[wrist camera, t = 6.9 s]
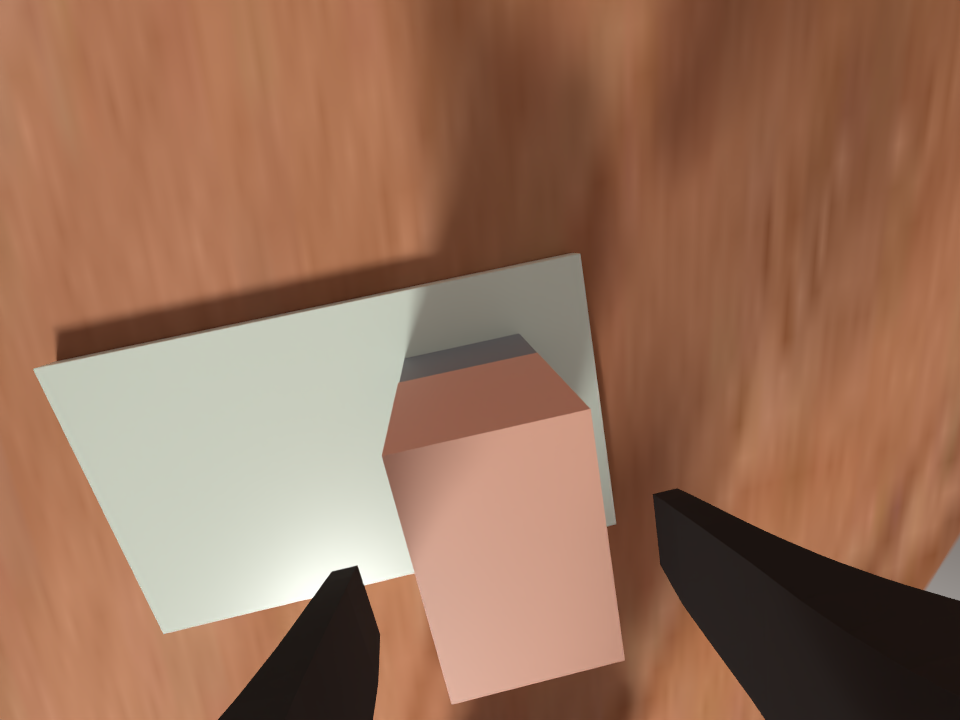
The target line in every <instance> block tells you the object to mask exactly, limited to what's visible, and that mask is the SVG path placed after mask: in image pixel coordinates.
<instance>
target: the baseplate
mask: <svg viewBox="0 0 960 720" xmlns="http://www.w3.org/2000/svg"><path fill="white" fill-rule="evenodd" d="M514 334H520V335H521V336H522V337H523V338H524V339H525V340H526V341H527V342H528V343H529V345H530V346H531V347H532V348H533V349H534V350H535V351H536V352H537V353H538V354H539V355H540V356H541V357H542V358H543V359H544V360H545V361H546V362H547V363H548V364H549V365H550V366H551V367H552V369H553V370H554V371H555V372H556V373H557V374H558V375H559V376H560V377H561V378H562V379H563V380H564V381H565V382H566V383H567V384H568V385H569V387H570V388H571V389H572V390H573V391H574V392H575V393H576V394H577V395H578V396H579V397H580V398H581V399H582V400H583V401H584V402H585V403H586V405H587V406H588V407H589V408H590V409H591V415H592V422H593V430H594V437H595V444H596V452H597V459H598V467H599V474H600V481H601V489H602V496H603V503H604V511H605V518H606V525H607V526H611V525H615V524H616V518H615V511H614V503H613V496H612V488H611V481H610V473H609V465H608V458H607V450H606V443H605V435H604V428H603V420H602V413H601V405H600V398H599V390H598V383H597V375H596V368H595V360H594V353H593V345H592V337H591V330H590V322H589V315H588V307H587V300H586V292H585V285H584V277H583V270H582V262H581V255H580V253H569V254H564V255H559V256H555V257H550V258H545V259H540V260H536V261H531V262H526V263H521V264H517V265H512V266H507V267H502V268H498V269H493V270H488V271H483V272H479V273H474V274H469V275H464V276H460V277H455V278H450V279H445V280H441V281H436V282H431V283H426V284H422V285H417V286H412V287H407V288H403V289H398V290H393V291H388V292H384V293H379V294H374V295H369V296H365V297H360V298H355V299H350V300H346V301H341V302H336V303H331V304H327V305H322V306H317V307H312V308H308V309H303V310H298V311H293V312H289V313H284V314H279V315H274V316H270V317H265V318H260V319H255V320H251V321H246V322H241V323H236V324H232V325H227V326H222V327H217V328H213V329H208V330H203V331H198V332H194V333H189V334H184V335H179V336H175V337H170V338H165V339H160V340H156V341H151V342H146V343H141V344H137V345H132V346H127V347H122V348H118V349H113V350H108V351H103V352H99V353H94V354H89V355H84V356H80V357H75V358H70V359H65V360H61V361H56V362H53V363H50V364H46V365H43V366H40V367H37V368H34V369H33V370H34V372H35V374H36V376H37V378H38V380H39V382H40V384H41V386H42V388H43V390H44V392H45V394H46V396H47V398H48V400H49V402H50V405H51V407H52V409H53V411H54V413H55V415H56V417H57V419H58V421H59V423H60V425H61V427H62V429H63V431H64V433H65V435H66V437H67V439H68V441H69V443H70V445H71V447H72V449H73V451H74V453H75V455H76V457H77V459H78V461H79V463H80V465H81V467H82V469H83V472H84V474H85V476H86V478H87V480H88V482H89V484H90V486H91V488H92V490H93V492H94V494H95V496H96V498H97V500H98V502H99V504H100V506H101V508H102V510H103V512H104V514H105V516H106V518H107V520H108V522H109V524H110V526H111V528H112V530H113V532H114V534H115V536H116V538H117V541H118V543H119V545H120V547H121V549H122V551H123V553H124V555H125V557H126V559H127V561H128V563H129V565H130V567H131V569H132V571H133V573H134V575H135V577H136V579H137V581H138V583H139V585H140V587H141V589H142V591H143V593H144V595H145V597H146V599H147V601H148V603H149V605H150V607H151V610H152V612H153V614H154V616H155V618H156V620H157V622H158V624H159V626H160V628H161V630H162V632H163V634H165V633H170V632H174V631H178V630H182V629H186V628H190V627H194V626H198V625H203V624H207V623H211V622H215V621H219V620H223V619H227V618H232V617H236V616H240V615H244V614H248V613H252V612H256V611H260V610H265V609H269V608H273V607H277V606H281V605H285V604H289V603H293V602H298V601H302V600H306V599H310V598H313V597H314V595H315V594H316V593H317V591H318V590H319V588H320V587H321V585H322V584H323V583H324V581H325V580H326V579H327V577H328V576H329V575H330V573H331V572H332V571H336V570H340V569H344V568H348V567H352V566H357V565H358V568H359V571H360V574H361V577H362V580H363V584H364V585H368V584H372V583H376V582H380V581H384V580H388V579H392V578H397V577H401V576H405V575H409V574H413V573H414V569H413V566H412V562H411V558H410V555H409V551H408V548H407V544H406V541H405V537H404V534H403V530H402V527H401V523H400V519H399V516H398V512H397V509H396V505H395V502H394V498H393V495H392V491H391V487H390V484H389V480H388V477H387V473H386V470H385V466H384V463H383V459H382V452H383V448H384V443H385V439H386V434H387V430H388V425H389V421H390V417H391V412H392V408H393V403H394V399H395V394H396V390H397V385H398V383H399V381H400V377H401V372H402V367H403V363H404V358H409V357H413V356H418V355H423V354H427V353H432V352H436V351H441V350H446V349H450V348H455V347H459V346H464V345H468V344H473V343H478V342H482V341H487V340H491V339H496V338H500V337H505V336H510V335H514Z"/></svg>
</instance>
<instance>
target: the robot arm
mask: <svg viewBox="0 0 960 720" xmlns="http://www.w3.org/2000/svg"><path fill="white" fill-rule="evenodd" d="M653 499H654V509H655V518H656V528H657V537H658V547H659V556H660V565H661V566H662V568H663V570H664V572H665V574H666V576H667V577H668V579H669V581H670V583H671V585H672V587H673V588H674V590H675V592H676V593H677V595H678V597H679V599H680V600H681V602H682V604H683V605H684V607H685V608H686V610H687V611H688V612H689V614H690V615H691V617H692V618H693V619H694V621H695V622H696V624H697V625H698V626H699V628H700V629H701V631H702V632H703V633H704V635H705V636H706V638H707V639H708V640H709V642H710V643H711V644H712V646H713V647H714V649H715V650H716V651H717V653H718V654H719V655H720V657H721V658H722V659H723V661H724V662H725V664H726V665H727V666H728V668H729V669H730V670H731V672H732V673H733V675H734V676H735V677H736V679H737V680H738V681H739V683H740V684H741V686H742V687H743V688H744V690H745V691H746V692H747V694H748V695H749V697H750V698H751V699H752V701H753V702H754V704H755V705H756V707H757V708H758V710H759V711H760V712H761V714H762V715H763V717H764V718H765V720H960V601H958V600H955V599H951V598H948V597H945V596H941V595H938V594H934V593H931V592H928V591H924V590H921V589H917V588H914V587H911V586H907V585H904V584H901V583H898V582H895V581H892V580H888V579H885V578H882V577H879V576H876V575H874V574H871V573H868V572H865V571H862V570H860V569H857V568H854V567H851V566H848V565H846V564H843V563H840V562H837V561H835V560H832V559H830V558H827V557H824V556H822V555H819V554H817V553H815V552H812V551H810V550H807V549H805V548H803V547H800V546H798V545H796V544H793V543H791V542H788V541H786V540H784V539H782V538H779V537H777V536H775V535H773V534H770V533H768V532H766V531H764V530H762V529H760V528H758V527H755V526H753V525H751V524H749V523H747V522H745V521H743V520H741V519H739V518H737V517H735V516H733V515H731V514H729V513H727V512H725V511H723V510H721V509H719V508H717V507H715V506H713V505H711V504H709V503H707V502H705V501H703V500H701V499H699V498H697V497H694V496H692V495H690V494H688V493H686V492H684V491H682V490H680V489H673V490H669V491H665V492H660V493H656V494H653ZM379 650H380V633H379V630H378V627H377V624H376V621H375V617H374V614H373V611H372V608H371V605H370V602H369V599H368V596H367V593H366V590H365V587H364V584H363V580H362V577H361V574H360V571H359V568H358V565H357V566H352V567H348V568H344V569H340V570H336V571H332V572H331V573H330V575H329V576H328V577H327V579H326V580H325V581H324V583H323V584H322V585H321V587H320V588H319V590H318V591H317V593H316V594H315V595H314V597H313V598H312V600H311V601H310V602H309V604H308V605H307V607H306V608H305V609H304V611H303V612H302V614H301V615H300V616H299V618H298V619H297V621H296V622H295V623H294V625H293V626H292V627H291V629H290V630H289V632H288V633H287V634H286V636H285V637H284V638H283V640H282V641H281V642H280V644H279V645H278V647H277V648H276V649H275V650H274V652H273V653H272V654H271V656H270V657H269V658H268V659H267V661H266V662H265V663H264V664H263V666H262V667H261V668H260V669H259V671H258V672H257V673H256V674H255V676H254V677H253V678H252V679H251V681H250V682H249V683H248V684H247V686H246V687H245V688H244V690H243V691H242V692H241V693H240V694H239V696H238V697H237V698H236V699H235V700H234V702H233V703H232V704H231V705H230V706H229V707H228V709H227V710H226V711H225V712H224V713H223V714H222V715H221V717H220V718H219V719H218V720H373V715H374V708H375V701H376V694H377V687H378V676H379Z"/></svg>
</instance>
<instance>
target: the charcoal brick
mask: <svg viewBox="0 0 960 720" xmlns="http://www.w3.org/2000/svg"><path fill="white" fill-rule="evenodd" d="M533 353H537V352H536V351H535V350H534V349H533V348H532V347H531V346H530V345H529V343H528V342H527V341H526V340H525V339H524V338H523V337H522V336H521V335H520V334H514V335H510V336H505V337H500V338H496V339H491V340H487V341H482V342H478V343H473V344H468V345H464V346H459V347H455V348H450V349H446V350H441V351H436V352H432V353H427V354H423V355H418V356H413V357H409V358H404V363H403V367H402V372H401V377H400V381H399V382H404V381H409V380H413V379H418V378H422V377H427V376H432V375H436V374H441V373H445V372H450V371H454V370H459V369H464V368H468V367H473V366H477V365H482V364H487V363H491V362H496V361H500V360H505V359H510V358H514V357H519V356H523V355H528V354H533Z"/></svg>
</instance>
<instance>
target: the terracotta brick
mask: <svg viewBox="0 0 960 720" xmlns="http://www.w3.org/2000/svg"><path fill="white" fill-rule="evenodd" d="M382 459H383V463H384V466H385V470H386V473H387V477H388V480H389V484H390V487H391V491H392V495H393V498H394V502H395V505H396V509H397V512H398V516H399V519H400V523H401V527H402V530H403V534H404V537H405V541H406V544H407V548H408V551H409V555H410V558H411V562H412V566H413V569H414V573H415V576H416V580H417V583H418V587H419V590H420V594H421V598H422V601H423V605H424V608H425V612H426V615H427V619H428V622H429V626H430V629H431V633H432V637H433V640H434V644H435V647H436V651H437V654H438V658H439V661H440V665H441V669H442V672H443V676H444V679H445V683H446V686H447V690H448V693H449V697H450V700H451V704H456V703H460V702H464V701H468V700H472V699H476V698H480V697H484V696H487V695H491V694H495V693H499V692H503V691H507V690H511V689H515V688H519V687H523V686H527V685H531V684H534V683H538V682H542V681H546V680H550V679H554V678H558V677H562V676H566V675H570V674H574V673H578V672H581V671H585V670H589V669H593V668H597V667H601V666H605V665H609V664H613V663H617V662H621V661H625V658H624V650H623V643H622V636H621V628H620V621H619V614H618V606H617V599H616V592H615V584H614V577H613V569H612V562H611V555H610V547H609V540H608V533H607V525H606V518H605V511H604V503H603V496H602V489H601V481H600V474H599V467H598V459H597V452H596V444H595V437H594V430H593V422H592V415H591V409H590V408H589V407H588V406H587V405H586V403H585V402H584V401H583V400H582V399H581V398H580V397H579V396H578V395H577V394H576V393H575V392H574V391H573V390H572V389H571V388H570V387H569V385H568V384H567V383H566V382H565V381H564V380H563V379H562V378H561V377H560V376H559V375H558V374H557V373H556V372H555V371H554V370H553V369H552V367H551V366H550V365H549V364H548V363H547V362H546V361H545V360H544V359H543V358H542V357H541V356H540V355H539V354H538V353H533V354H528V355H523V356H519V357H514V358H510V359H505V360H500V361H496V362H491V363H487V364H482V365H477V366H473V367H468V368H464V369H459V370H454V371H450V372H445V373H441V374H436V375H432V376H427V377H422V378H418V379H413V380H409V381H404V382H399V383H398V385H397V390H396V394H395V399H394V403H393V408H392V412H391V417H390V421H389V425H388V430H387V434H386V439H385V443H384V448H383V452H382Z"/></svg>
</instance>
